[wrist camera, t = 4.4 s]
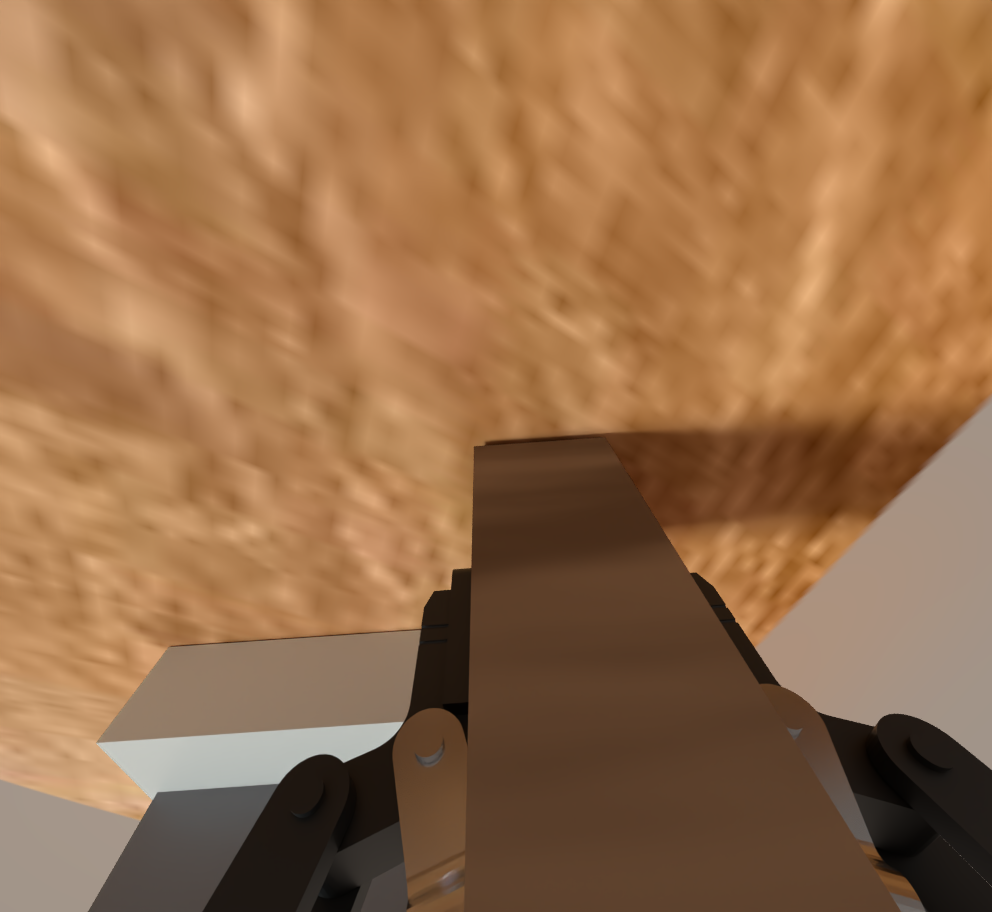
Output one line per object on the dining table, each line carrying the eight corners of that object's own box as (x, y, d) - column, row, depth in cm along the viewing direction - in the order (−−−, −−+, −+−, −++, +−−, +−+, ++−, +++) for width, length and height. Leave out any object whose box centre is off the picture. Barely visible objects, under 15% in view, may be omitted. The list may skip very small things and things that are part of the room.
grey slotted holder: (168, 647, 19) (-81, 977, 10) (451, 627, 19) (429, 939, 10) (277, 807, 26) (185, 1070, 18) (478, 793, 26) (477, 1049, 18)
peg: (474, 446, 14) (459, 1115, 3) (605, 437, 14) (1001, 1071, 3) (484, 547, 16) (493, 1144, 6) (597, 538, 16) (823, 1119, 6)
